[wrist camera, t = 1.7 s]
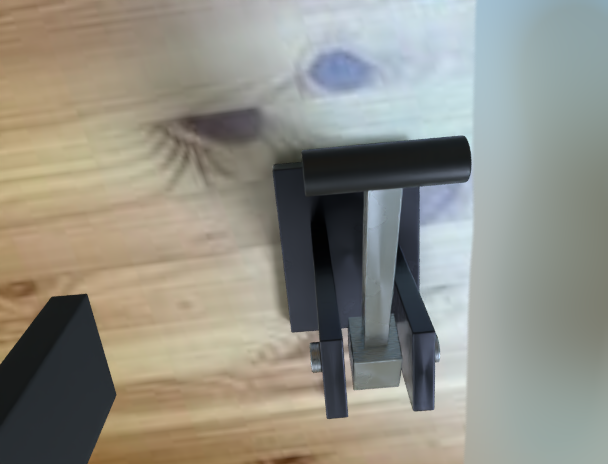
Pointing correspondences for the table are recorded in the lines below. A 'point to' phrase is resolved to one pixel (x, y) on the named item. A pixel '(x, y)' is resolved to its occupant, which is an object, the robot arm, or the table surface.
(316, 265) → the bracket
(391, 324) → the lever
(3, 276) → the table surface
